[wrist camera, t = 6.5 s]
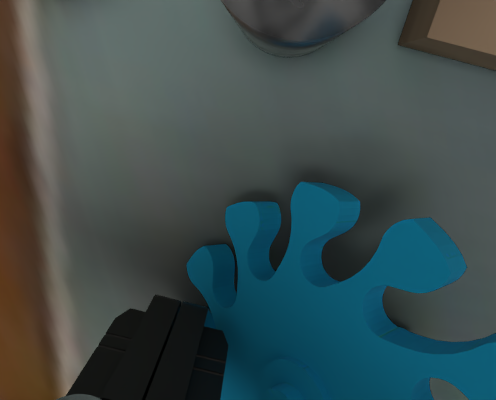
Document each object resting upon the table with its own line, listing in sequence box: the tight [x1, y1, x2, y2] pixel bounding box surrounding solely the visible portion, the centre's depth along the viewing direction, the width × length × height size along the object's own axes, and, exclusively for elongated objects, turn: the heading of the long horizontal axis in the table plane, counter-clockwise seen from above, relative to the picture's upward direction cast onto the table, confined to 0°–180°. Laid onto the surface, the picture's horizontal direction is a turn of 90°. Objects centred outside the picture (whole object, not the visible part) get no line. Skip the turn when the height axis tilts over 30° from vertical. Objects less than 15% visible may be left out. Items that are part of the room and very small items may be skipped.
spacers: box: [221, 0, 386, 57], centre depth 10 cm, size 9×21×5 cm, turn 166°
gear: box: [186, 182, 496, 400], centre depth 11 cm, size 11×6×10 cm
